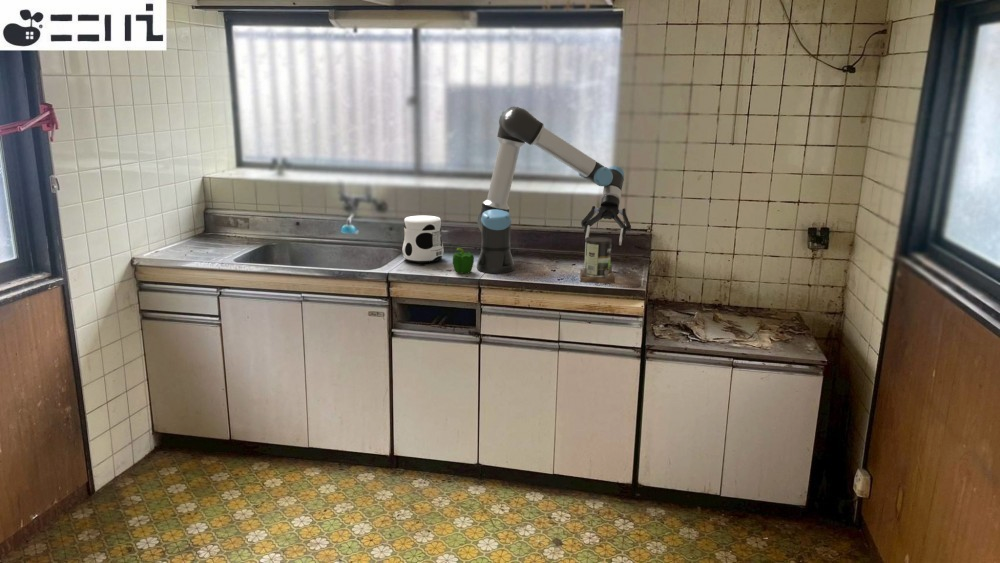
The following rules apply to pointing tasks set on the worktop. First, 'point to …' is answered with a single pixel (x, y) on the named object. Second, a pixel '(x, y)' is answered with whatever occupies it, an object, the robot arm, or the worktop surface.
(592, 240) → the coffee can
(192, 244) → the worktop surface
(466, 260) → the bell pepper
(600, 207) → the robot arm
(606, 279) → the can seat
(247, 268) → the worktop surface
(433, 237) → the milk container
